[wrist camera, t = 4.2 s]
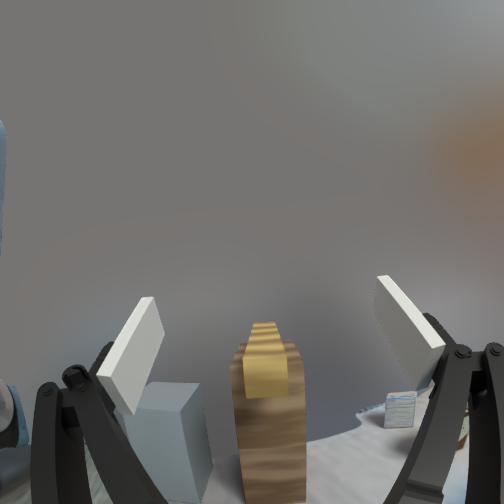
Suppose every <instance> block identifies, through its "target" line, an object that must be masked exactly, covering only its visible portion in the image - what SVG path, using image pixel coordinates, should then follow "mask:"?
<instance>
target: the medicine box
mask: <svg viewBox="0 0 504 504" xmlns="http://www.w3.org/2000/svg"><path fill="white" fill-rule="evenodd" d="M416 402H417V392H416V391H412V392H399V393H388V394H387V398H386V406H385V420H384V428H402V427H414V420H415V411H416Z"/></svg>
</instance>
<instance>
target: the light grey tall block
mask: <svg viewBox="0 0 504 504" xmlns="http://www.w3.org/2000/svg"><path fill="white" fill-rule="evenodd" d="M123 417H124V421H125V425H126V429H127V433H128V437H129V441H130V445H131V447H132V448H133V450H134V452H135V454H136V455H137V457H138V459H139V460H140V462H141V464H142V465H143V467H144V469H145V470H146V472H147V473H148V475H149V476H150V478H151V480H152V481H153V483H154V484H155V485H156V487H157V488H158V490H159V491H160V493H161V494H162V496H163V497H164V498H165V500H170V501H176V502H184V503H193V504H200V503H201V500H202V497H203V494H204V491H205V488H206V485H207V482H208V479H209V476H210V473H211V470H212V467H213V464H212V458H211V453H210V447H209V441H208V435H207V428H206V422H205V415H204V408H203V401H202V394H201V386H200V383H165V382H152V383H150V384H149V385H148V386H146V387H145V388H144V389H143V392H142V395H141V397H140V400H139V403H138V406H137V408H136V411H135V414H134V416H133V415H126V414H123Z"/></svg>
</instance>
